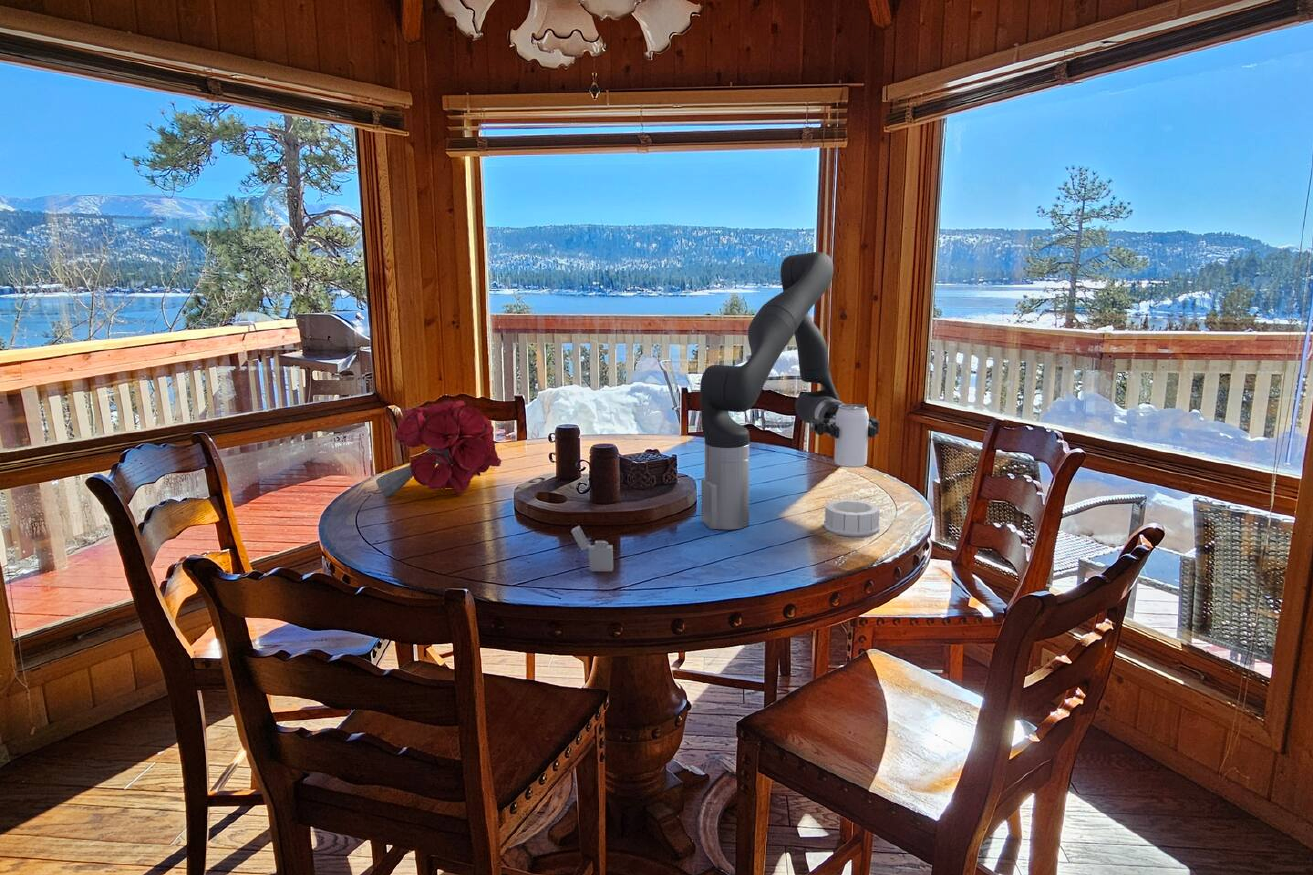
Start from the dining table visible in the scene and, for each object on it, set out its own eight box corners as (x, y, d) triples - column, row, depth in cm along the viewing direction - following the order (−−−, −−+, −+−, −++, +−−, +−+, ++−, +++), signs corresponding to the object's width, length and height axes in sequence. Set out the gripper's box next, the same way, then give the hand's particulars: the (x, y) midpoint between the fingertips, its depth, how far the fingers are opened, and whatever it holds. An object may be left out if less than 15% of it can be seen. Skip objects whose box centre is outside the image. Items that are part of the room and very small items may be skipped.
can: (830, 466, 162) (832, 408, 160) (838, 459, 168) (840, 403, 166) (862, 469, 160) (865, 410, 157) (869, 462, 165) (872, 405, 163)
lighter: (613, 567, 144) (612, 525, 142) (612, 571, 142) (611, 528, 140) (574, 567, 144) (572, 525, 142) (572, 571, 142) (571, 528, 141)
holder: (840, 539, 157) (841, 517, 156) (814, 522, 167) (815, 502, 166) (889, 533, 160) (890, 512, 159) (861, 517, 170) (862, 497, 169)
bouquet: (402, 538, 183) (514, 467, 185) (341, 452, 178) (456, 381, 180) (414, 516, 204) (514, 453, 206) (360, 439, 199) (463, 375, 201)
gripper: (802, 401, 175) (819, 415, 159) (867, 400, 176) (891, 413, 159) (801, 435, 177) (818, 451, 161) (866, 433, 177) (889, 450, 161)
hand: (854, 432), depth 160 cm, fingers closed on can, 6 cm apart
